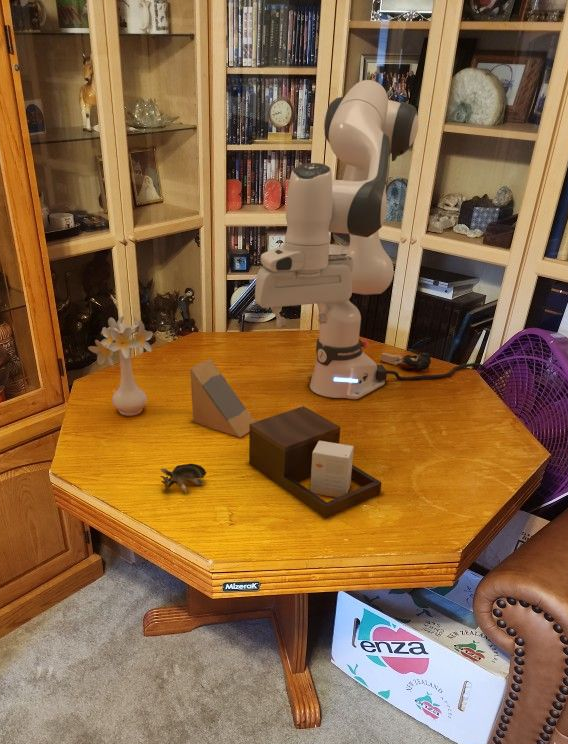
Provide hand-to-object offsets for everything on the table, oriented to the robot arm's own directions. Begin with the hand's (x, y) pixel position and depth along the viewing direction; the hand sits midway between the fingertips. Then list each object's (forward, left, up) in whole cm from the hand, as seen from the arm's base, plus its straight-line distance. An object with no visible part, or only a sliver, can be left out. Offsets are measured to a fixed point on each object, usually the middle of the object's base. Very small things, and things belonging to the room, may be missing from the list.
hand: (302, 324), depth 139 cm
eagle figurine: (+28, -5, -33) cm, 44 cm away
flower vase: (+20, -45, -33) cm, 59 cm away
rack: (+2, +9, -33) cm, 34 cm away
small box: (+2, +15, -33) cm, 36 cm away
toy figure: (-63, -24, -33) cm, 75 cm away
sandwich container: (+3, -25, -33) cm, 41 cm away
